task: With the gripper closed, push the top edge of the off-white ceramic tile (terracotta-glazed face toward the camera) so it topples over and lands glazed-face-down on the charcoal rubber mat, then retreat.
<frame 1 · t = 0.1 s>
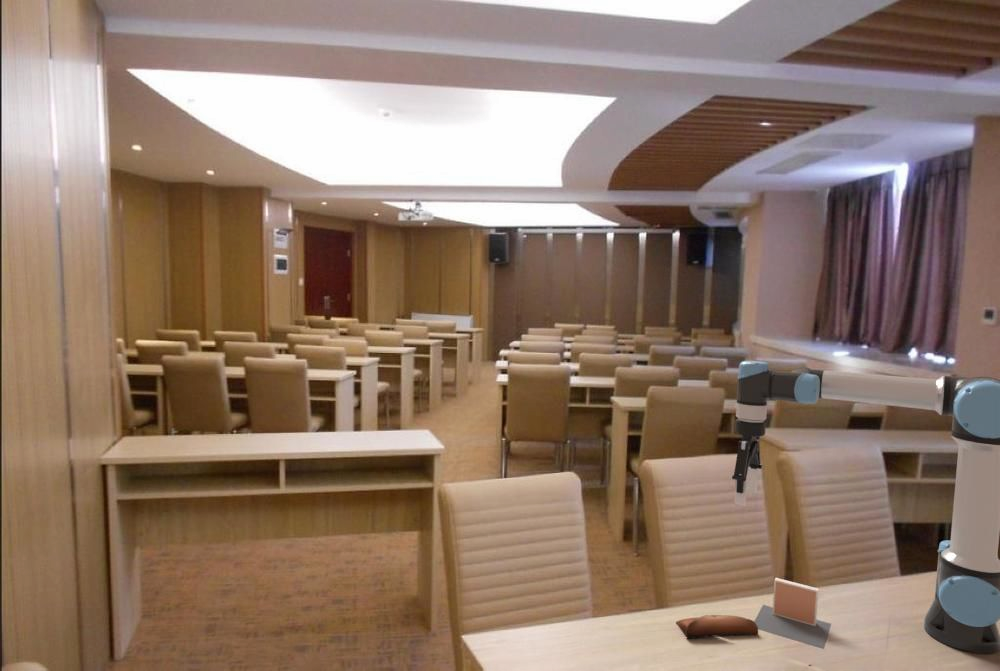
hand: (745, 498, 170), 28 cm above the table, fingers open, 13 cm apart
sunglasses case: (715, 632, 156), on the table
mat: (791, 627, 158), on the table
tile: (794, 618, 161), point 1 cm above the table, touching mat
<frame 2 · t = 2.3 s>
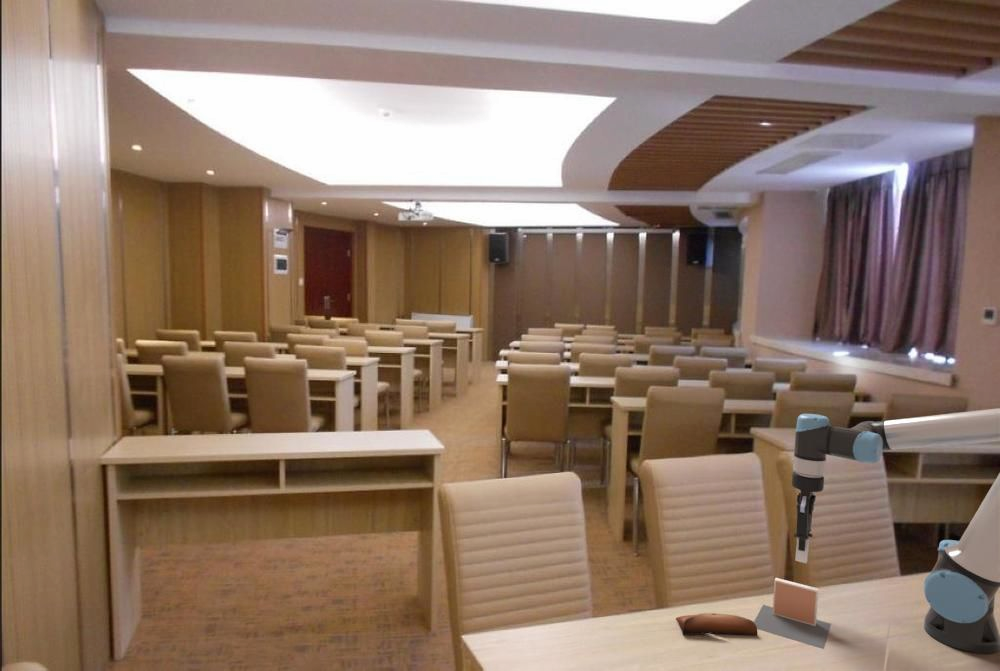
hand: (801, 561, 168), 12 cm above the table, fingers closed
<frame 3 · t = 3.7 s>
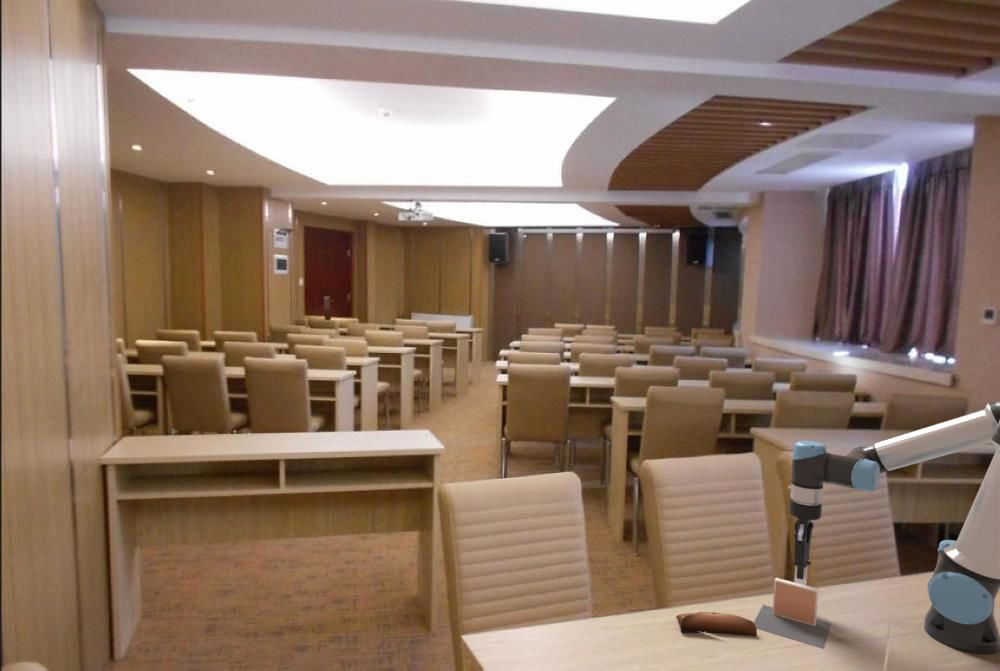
hand: (799, 589, 167), 5 cm above the table, fingers closed
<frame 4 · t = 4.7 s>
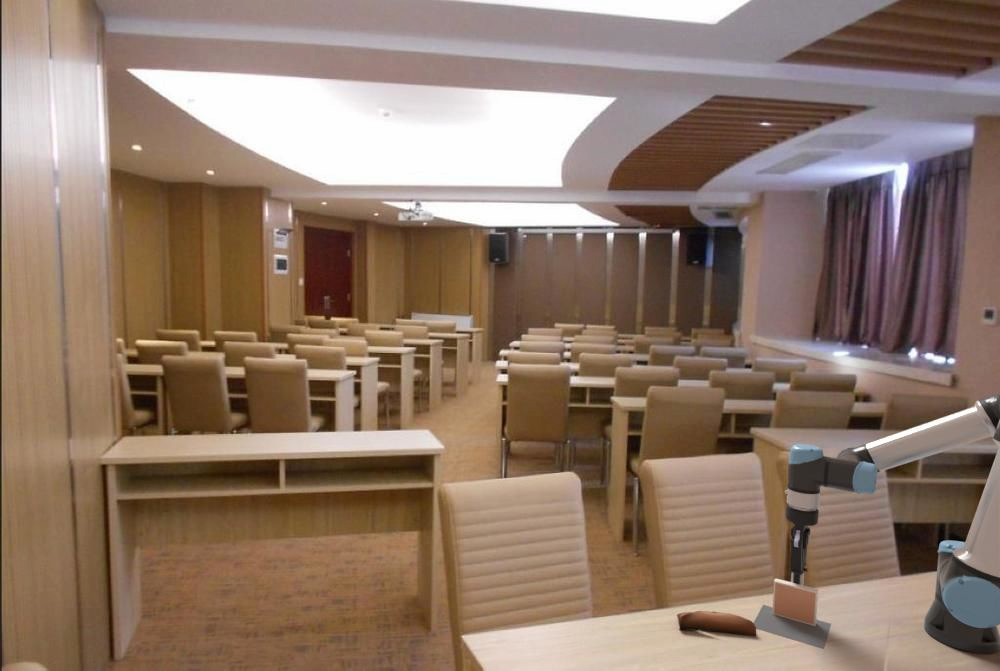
hand: (796, 596, 163), 6 cm above the table, fingers closed
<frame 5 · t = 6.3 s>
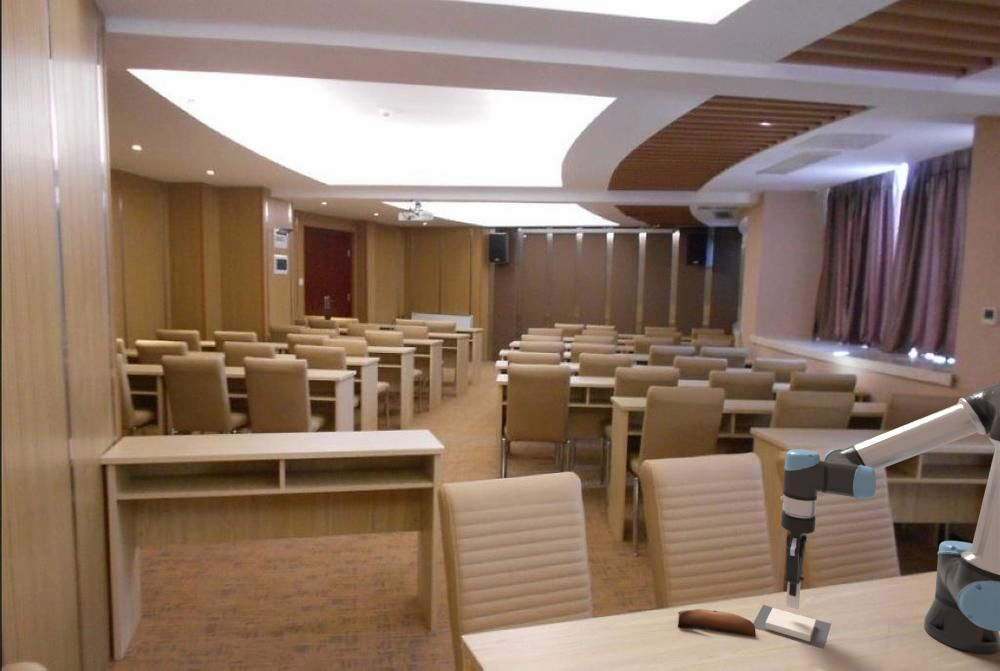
hand: (792, 606, 158), 5 cm above the table, fingers closed
tile: (793, 616, 161), point 2 cm above the table, tilted 90°, touching mat
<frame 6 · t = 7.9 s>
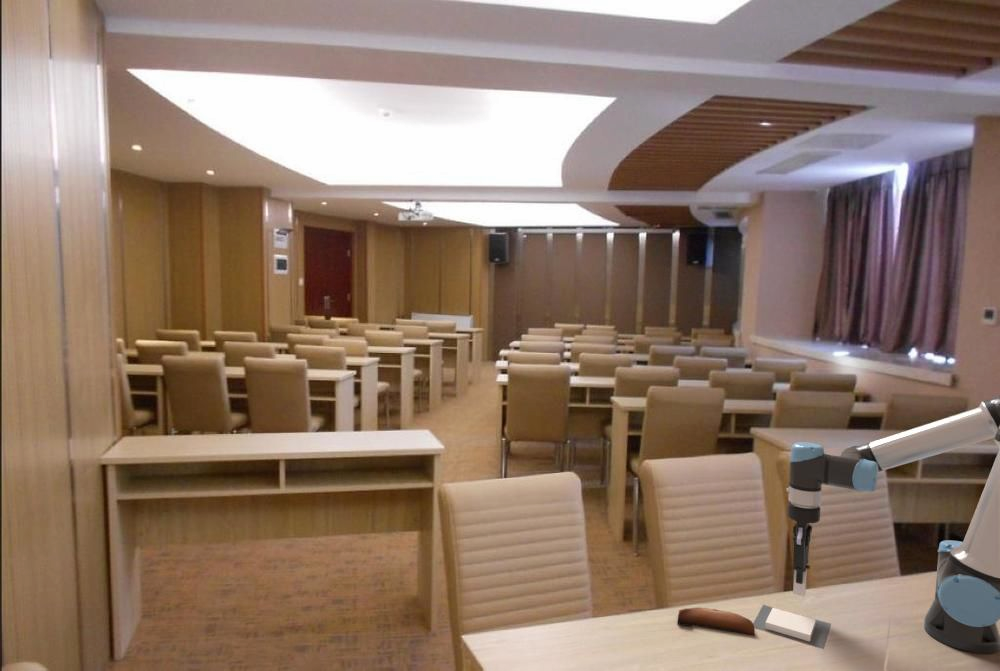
hand: (799, 593, 164), 6 cm above the table, fingers closed
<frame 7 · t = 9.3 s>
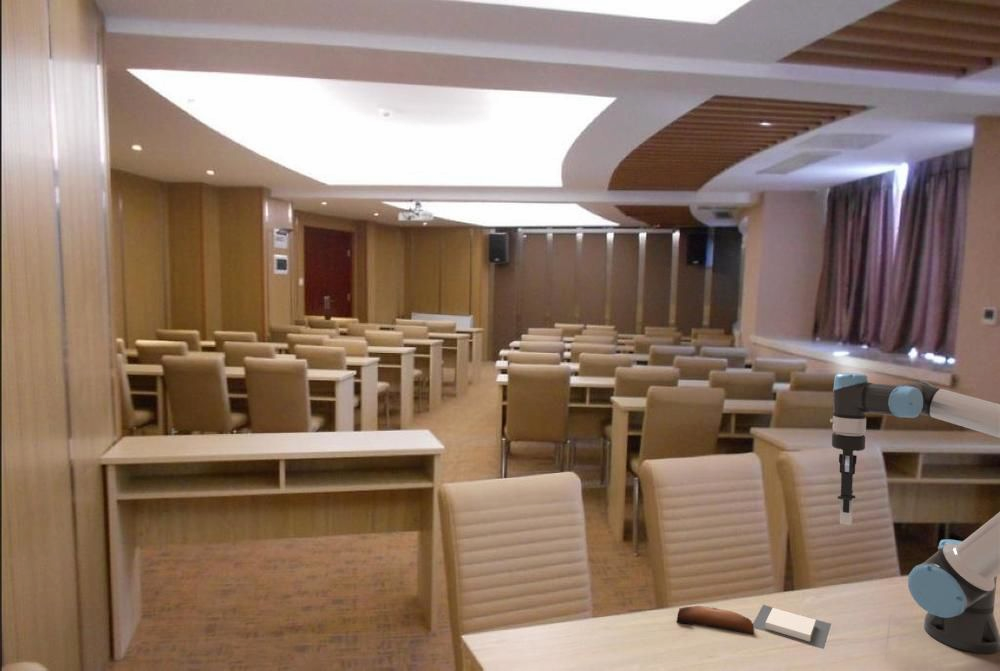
hand: (845, 523, 165), 24 cm above the table, fingers closed
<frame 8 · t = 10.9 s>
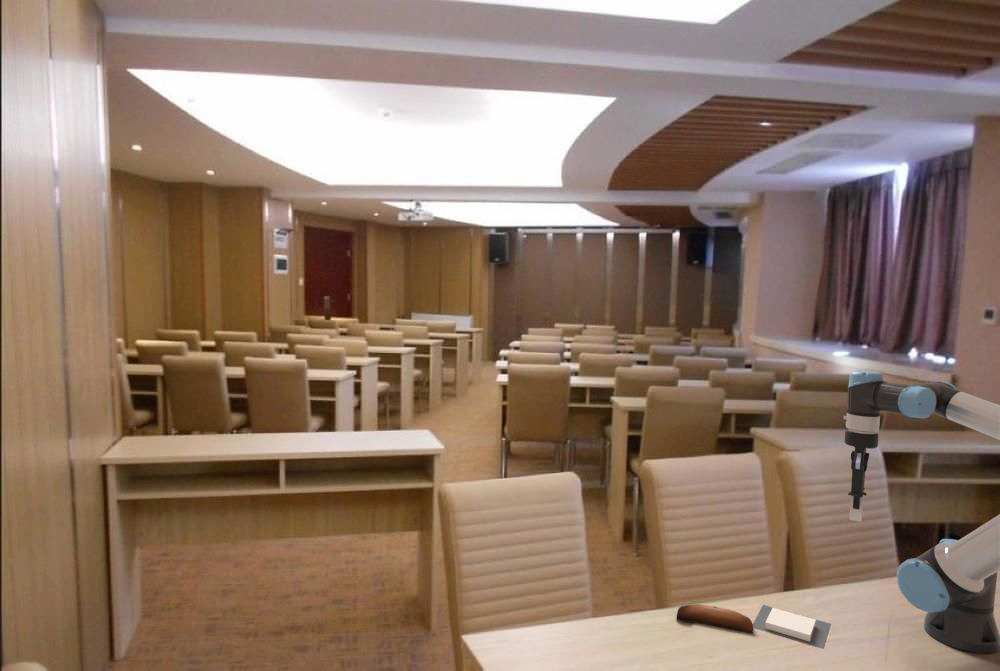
hand: (855, 519, 166), 24 cm above the table, fingers closed
at the end: tile tilted 90°; tile inside the target area on the mat (3.0 cm from its centre), point 1.5 cm above the mat's base; the gripper is holding nothing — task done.
